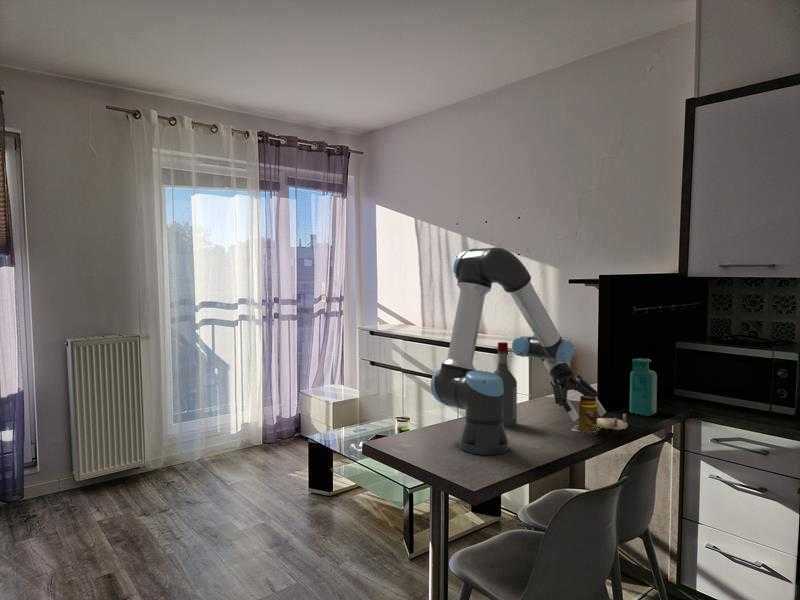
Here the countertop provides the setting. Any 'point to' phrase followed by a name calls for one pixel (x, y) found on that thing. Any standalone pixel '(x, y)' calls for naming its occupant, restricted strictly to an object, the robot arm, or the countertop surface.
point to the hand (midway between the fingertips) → (590, 416)
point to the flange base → (612, 423)
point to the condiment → (587, 414)
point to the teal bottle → (643, 388)
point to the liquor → (507, 387)
